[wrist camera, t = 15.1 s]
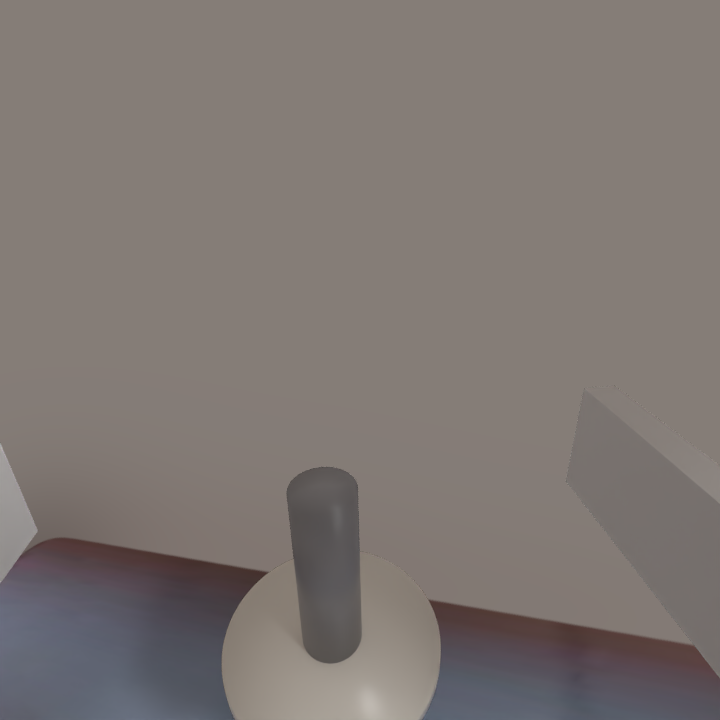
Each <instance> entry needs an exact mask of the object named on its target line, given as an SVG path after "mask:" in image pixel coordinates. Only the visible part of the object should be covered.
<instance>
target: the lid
mask: <svg viewBox="0 0 720 720" xmlns="http://www.w3.org/2000/svg"><path fill="white" fill-rule="evenodd" d="M287 502H288V511H289V520H290V529H291V538H292V547H293V556H294V558H293V559H291V560H289V561H287V562H285V563H283V564H281V565H280V566H278V567H276V568H274V569H273V570H272V571H270V572H269V573H268V574H266V575H265V576H264V577H263V578H262V579H260V580H259V581H258V582H257V583H256V584H255V585H254V586H253V587H252V588H251V589H250V591H249V592H248V593H247V594H246V595H245V597H244V598H243V600H242V601H241V602H240V604H239V605H238V607H237V609H236V611H235V613H234V614H233V616H232V619H231V621H230V623H229V626H228V628H227V632H226V635H225V639H224V643H223V650H222V677H223V684H224V689H225V693H226V697H227V701H228V704H229V708H230V711H231V713H232V715H233V717H234V720H423V718H424V716H425V714H426V712H427V711H428V709H429V707H430V704H431V702H432V699H433V697H434V694H435V691H436V686H437V682H438V678H439V669H440V658H441V640H440V633H439V627H438V623H437V620H436V616H435V613H434V611H433V609H432V606H431V604H430V602H429V600H428V599H427V597H426V595H425V594H424V592H423V591H422V589H421V588H420V587H419V586H418V585H417V583H416V582H415V581H414V580H413V579H412V578H411V577H410V576H409V575H408V574H407V573H405V572H404V571H403V570H402V569H400V568H399V567H397V566H396V565H394V564H393V563H391V562H389V561H387V560H385V559H383V558H381V557H378V556H376V555H373V554H369V553H366V552H361V551H360V547H359V511H358V485H357V483H356V480H355V479H354V477H353V476H351V475H350V474H349V473H348V472H346V471H343V470H341V469H338V468H333V467H319V468H313V469H310V470H307V471H305V472H302V473H301V474H299V475H298V476H296V477H295V478H294V479H293V480H292V481H291V482H290V484H289V486H288V488H287Z"/></svg>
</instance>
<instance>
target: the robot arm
mask: <svg viewBox="0 0 720 720" xmlns="http://www.w3.org/2000/svg"><path fill="white" fill-rule="evenodd" d="M566 482H567V483H568V485H569V486H570V487H571V488H572V490H573V491H574V492H575V493H576V495H577V496H578V497H579V499H580V500H581V501H582V503H583V504H584V505H585V506H586V508H587V509H588V510H589V512H590V513H591V514H592V515H593V517H594V518H595V519H596V521H597V522H598V523H599V524H600V526H601V527H602V528H603V529H604V531H605V532H606V533H607V535H608V536H609V537H610V538H611V540H612V541H613V542H614V544H615V545H616V546H617V547H618V548H619V550H620V551H621V552H622V554H623V555H624V556H625V558H626V559H627V560H628V561H629V563H630V564H631V565H632V566H633V568H634V569H635V570H636V571H637V573H638V574H639V575H640V577H641V578H642V579H643V581H644V582H645V583H646V584H647V586H648V587H649V588H650V589H651V591H652V592H653V593H654V595H655V596H656V597H657V598H658V600H659V601H660V602H661V604H662V605H663V606H664V607H665V609H666V610H667V611H668V613H669V614H670V615H671V616H672V617H673V619H674V620H675V621H676V623H677V624H678V625H679V627H680V628H681V629H682V630H683V632H684V633H685V634H686V636H687V637H688V638H689V639H690V641H691V642H692V643H693V644H694V646H695V647H696V648H697V650H698V651H699V652H700V653H701V655H702V656H703V657H704V659H705V660H706V661H707V662H708V664H709V665H710V666H711V668H712V669H713V670H714V671H715V673H716V674H717V675H718V676H719V678H720V465H719V464H717V463H716V462H715V461H713V460H712V459H711V458H710V457H708V456H707V455H705V454H704V453H703V452H702V451H700V450H699V449H698V448H696V447H695V446H694V445H692V444H691V443H690V442H688V441H687V440H686V439H685V438H683V437H682V436H680V435H679V434H678V433H677V432H675V431H674V430H673V429H671V428H670V427H669V426H667V425H666V424H665V423H663V422H662V421H661V420H660V419H658V418H657V417H656V416H654V415H653V414H652V413H650V412H649V411H648V410H646V409H645V408H644V407H642V406H641V405H640V404H638V403H637V402H636V401H635V400H633V399H632V398H630V397H629V396H628V395H627V394H625V393H624V392H623V391H621V390H620V389H619V388H617V387H616V386H602V387H589V388H584V391H583V396H582V401H581V406H580V411H579V416H578V421H577V426H576V431H575V437H574V442H573V447H572V452H571V457H570V462H569V467H568V473H567V478H566ZM37 531H38V530H37V528H36V525H35V523H34V521H33V519H32V516H31V514H30V511H29V509H28V507H27V504H26V502H25V500H24V497H23V495H22V493H21V490H20V488H19V486H18V483H17V481H16V479H15V476H14V474H13V471H12V469H11V467H10V464H9V462H8V460H7V457H6V455H5V453H4V451H3V448H2V446H1V443H0V583H1V582H2V580H3V579H4V578H5V576H6V575H7V573H8V572H9V571H10V569H11V568H12V566H13V565H14V564H15V562H16V561H17V560H18V558H19V557H20V555H21V554H22V553H23V551H24V549H25V548H26V547H27V545H28V544H29V543H30V541H31V540H32V539H33V537H34V536H35V534H36V533H37Z"/></svg>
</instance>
